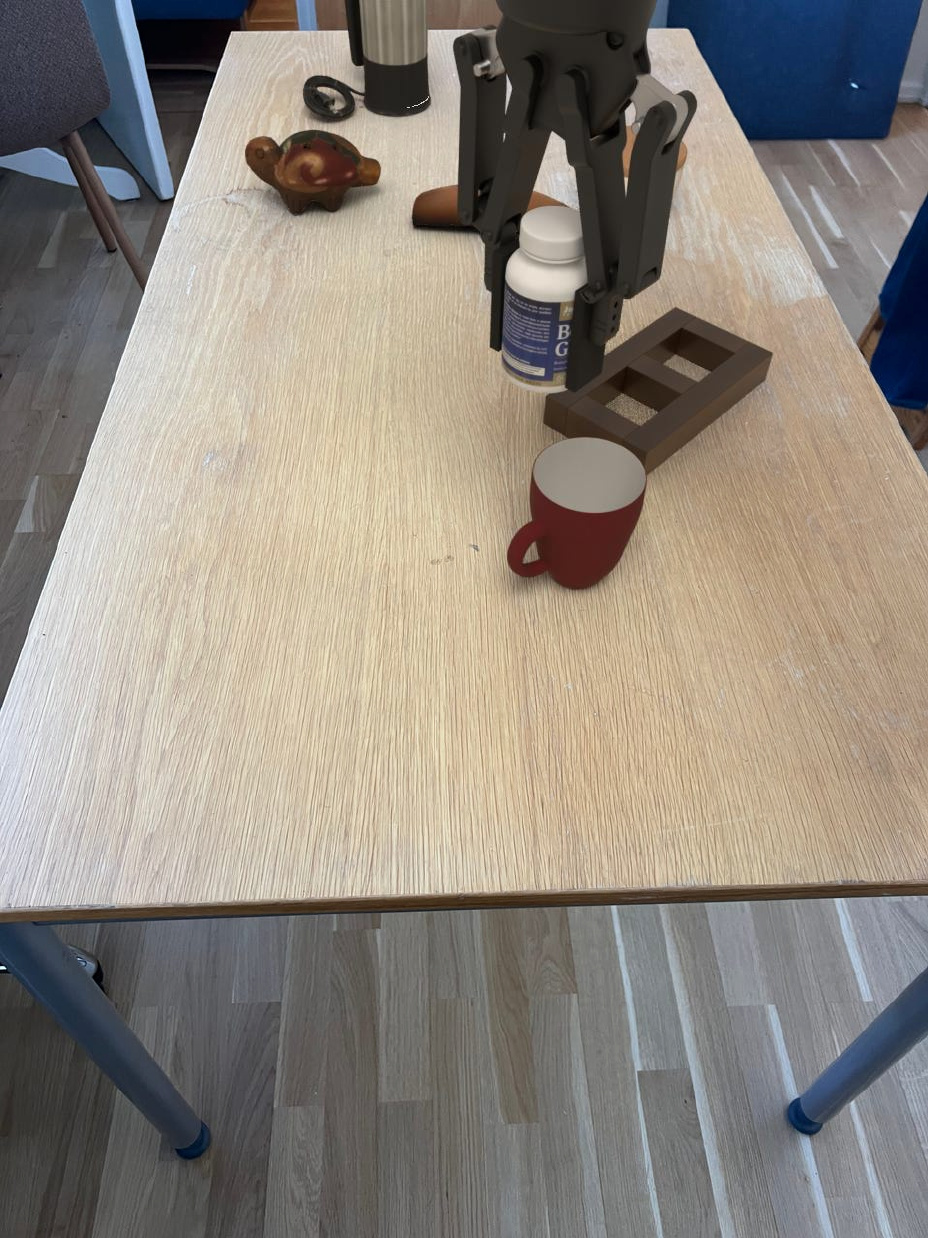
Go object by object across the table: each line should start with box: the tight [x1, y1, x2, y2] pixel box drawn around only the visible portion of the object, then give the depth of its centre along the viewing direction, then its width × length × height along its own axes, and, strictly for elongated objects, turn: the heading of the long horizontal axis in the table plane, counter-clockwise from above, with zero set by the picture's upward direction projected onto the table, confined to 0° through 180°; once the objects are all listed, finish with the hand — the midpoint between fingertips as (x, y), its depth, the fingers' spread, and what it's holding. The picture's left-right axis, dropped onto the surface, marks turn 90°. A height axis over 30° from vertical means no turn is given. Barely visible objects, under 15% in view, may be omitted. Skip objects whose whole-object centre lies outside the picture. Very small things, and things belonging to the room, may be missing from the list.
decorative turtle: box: [244, 129, 382, 215], centre depth 108 cm, size 10×15×8 cm, turn 108°
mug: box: [506, 437, 648, 590], centre depth 69 cm, size 10×8×10 cm
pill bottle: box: [500, 206, 588, 394], centre depth 56 cm, size 5×5×10 cm
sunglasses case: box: [411, 184, 574, 233], centre depth 106 cm, size 18×7×7 cm, turn 81°
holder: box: [542, 306, 774, 476], centre depth 86 cm, size 11×20×3 cm, turn 136°
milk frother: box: [302, 0, 432, 120], centre depth 122 cm, size 14×16×15 cm
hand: (544, 359), depth 59 cm, fingers closed on pill bottle, 5 cm apart
